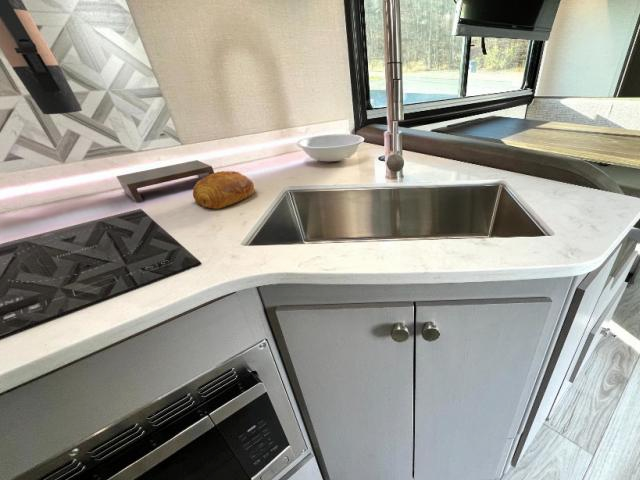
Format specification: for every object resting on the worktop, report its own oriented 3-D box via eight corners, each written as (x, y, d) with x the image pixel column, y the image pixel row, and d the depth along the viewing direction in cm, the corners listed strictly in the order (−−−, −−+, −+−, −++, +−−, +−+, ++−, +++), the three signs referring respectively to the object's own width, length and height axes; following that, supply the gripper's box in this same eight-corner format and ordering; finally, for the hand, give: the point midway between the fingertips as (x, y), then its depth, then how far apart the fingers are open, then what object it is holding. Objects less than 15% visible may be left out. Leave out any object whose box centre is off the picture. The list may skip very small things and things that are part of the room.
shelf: (136, 203, 86) (126, 184, 83) (125, 193, 92) (116, 176, 89) (218, 182, 98) (211, 166, 95) (203, 176, 105) (197, 160, 102)
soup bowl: (295, 157, 122) (291, 138, 118) (354, 149, 129) (352, 131, 125) (308, 172, 104) (303, 151, 100) (375, 162, 112) (373, 142, 108)
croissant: (267, 201, 90) (262, 171, 86) (218, 213, 78) (210, 179, 73) (231, 193, 95) (225, 165, 91) (180, 204, 83) (171, 171, 78)
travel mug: (89, 109, 77) (28, -4, 65) (74, 112, 71) (3, -10, 59) (52, 111, 76) (-18, -4, 63) (34, 115, 70) (-48, -10, 57)
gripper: (-11, -71, 53) (78, 90, 67) (-10, -44, 65) (66, 88, 79) (-79, -80, 49) (31, 94, 63) (-64, -50, 61) (26, 91, 75)
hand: (50, 90), depth 71 cm, fingers closed on travel mug, 8 cm apart
